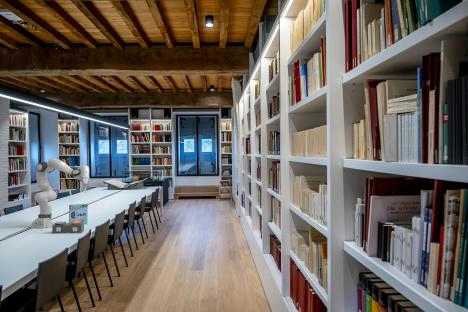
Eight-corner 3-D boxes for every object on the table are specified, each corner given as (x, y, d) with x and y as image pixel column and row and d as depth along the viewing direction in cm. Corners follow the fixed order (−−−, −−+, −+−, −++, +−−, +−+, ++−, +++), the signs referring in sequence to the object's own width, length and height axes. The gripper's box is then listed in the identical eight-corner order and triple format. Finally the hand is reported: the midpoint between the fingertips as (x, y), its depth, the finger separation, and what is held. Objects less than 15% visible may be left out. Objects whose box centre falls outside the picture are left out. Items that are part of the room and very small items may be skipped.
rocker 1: (58, 223, 354) (58, 221, 355) (64, 223, 355) (64, 221, 356) (56, 223, 348) (56, 221, 348) (62, 223, 348) (62, 221, 349)
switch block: (52, 233, 345) (52, 223, 345) (55, 231, 356) (56, 221, 356) (80, 233, 349) (81, 223, 349) (84, 230, 360) (84, 221, 360)
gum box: (86, 222, 401) (87, 203, 401) (87, 223, 397) (87, 204, 397) (68, 224, 391) (69, 204, 391) (69, 225, 386) (69, 205, 386)
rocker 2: (74, 221, 357) (74, 220, 357) (80, 221, 358) (80, 220, 357) (72, 224, 350) (72, 223, 350) (78, 224, 351) (78, 222, 351)
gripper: (81, 182, 375) (81, 194, 370) (82, 175, 359) (82, 188, 354) (87, 182, 378) (87, 194, 373) (88, 175, 362) (88, 188, 356)
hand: (84, 191), depth 363 cm, fingers open, 8 cm apart
